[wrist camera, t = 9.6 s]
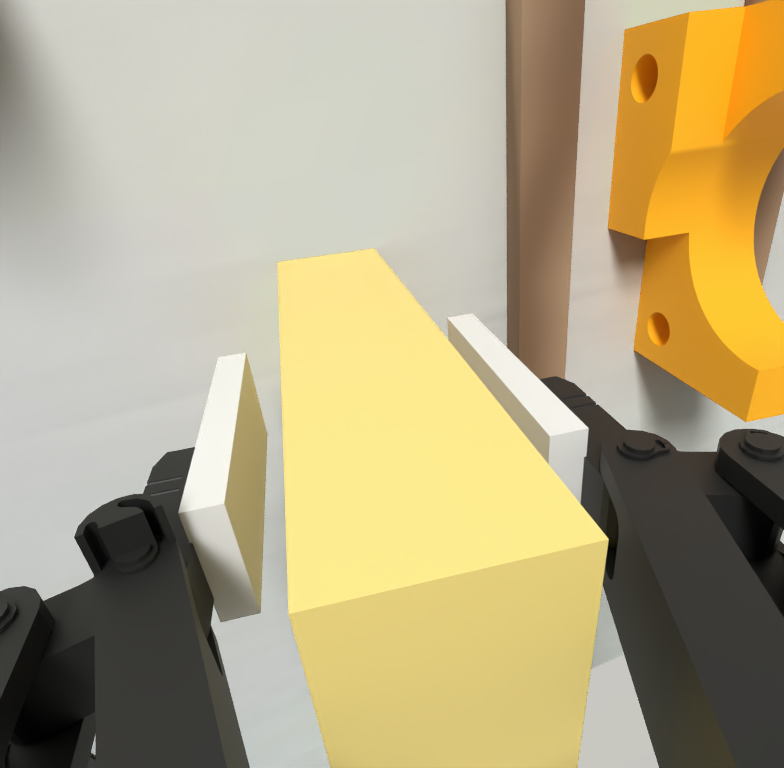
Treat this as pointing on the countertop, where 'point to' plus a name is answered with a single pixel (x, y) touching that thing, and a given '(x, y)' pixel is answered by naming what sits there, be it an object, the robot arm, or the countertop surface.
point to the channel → (559, 177)
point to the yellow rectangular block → (424, 540)
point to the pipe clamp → (703, 196)
